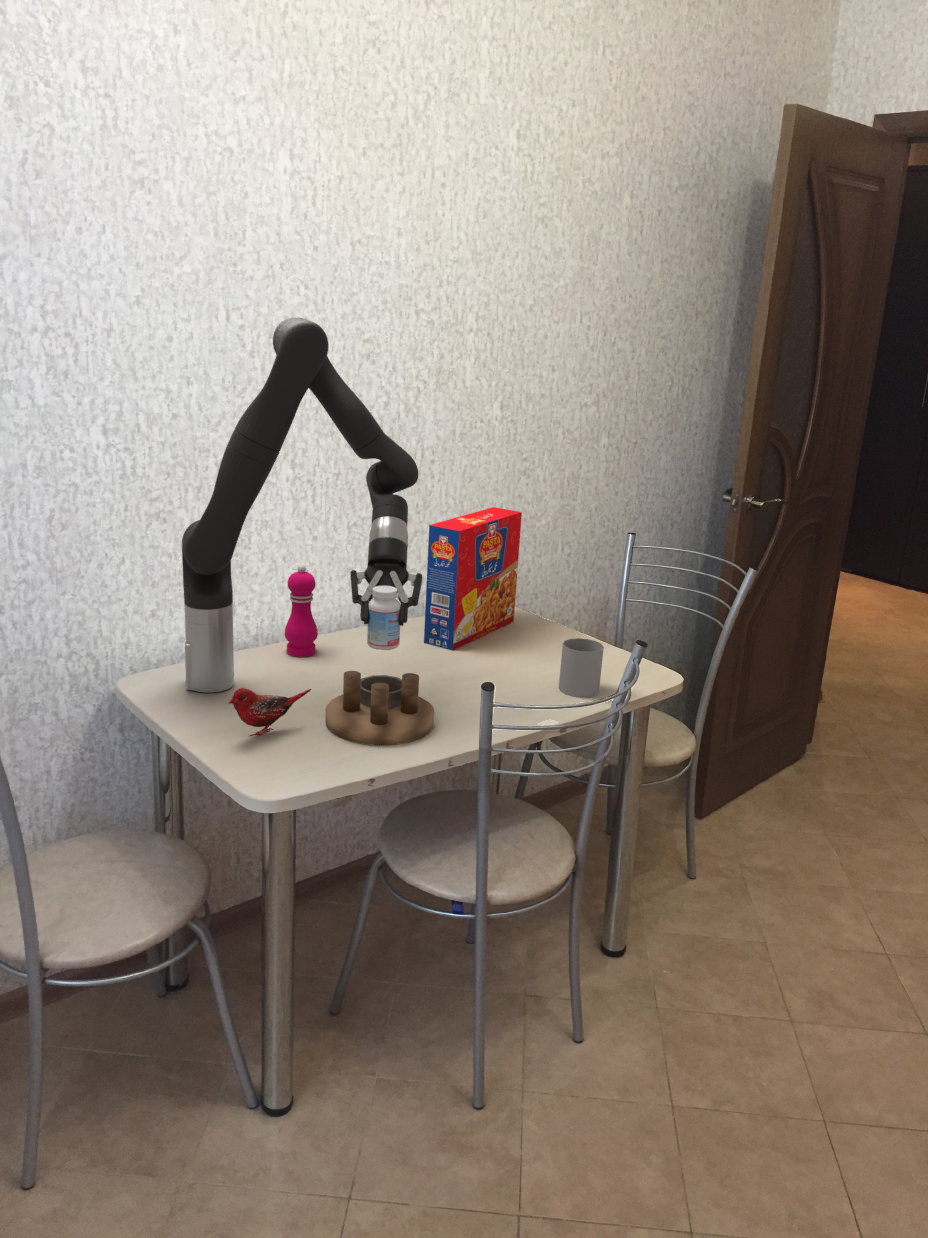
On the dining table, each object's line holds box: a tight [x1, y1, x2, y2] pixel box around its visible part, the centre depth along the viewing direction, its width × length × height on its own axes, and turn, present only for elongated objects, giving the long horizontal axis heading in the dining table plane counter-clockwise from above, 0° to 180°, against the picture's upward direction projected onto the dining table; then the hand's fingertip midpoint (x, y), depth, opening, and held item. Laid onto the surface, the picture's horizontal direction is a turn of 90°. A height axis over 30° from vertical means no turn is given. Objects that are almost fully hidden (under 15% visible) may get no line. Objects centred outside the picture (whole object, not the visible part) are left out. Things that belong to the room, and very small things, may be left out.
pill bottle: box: [366, 586, 401, 651], centre depth 191 cm, size 6×6×11 cm
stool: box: [324, 670, 436, 746], centre depth 190 cm, size 20×20×10 cm
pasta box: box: [423, 506, 523, 652], centre depth 241 cm, size 28×8×28 cm, turn 148°
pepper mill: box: [284, 564, 319, 658], centre depth 222 cm, size 7×7×20 cm
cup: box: [558, 637, 604, 699], centre depth 212 cm, size 8×8×10 cm
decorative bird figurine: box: [228, 687, 312, 737], centre depth 184 cm, size 3×18×10 cm, turn 134°
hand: (383, 622), depth 190 cm, fingers closed on pill bottle, 6 cm apart
